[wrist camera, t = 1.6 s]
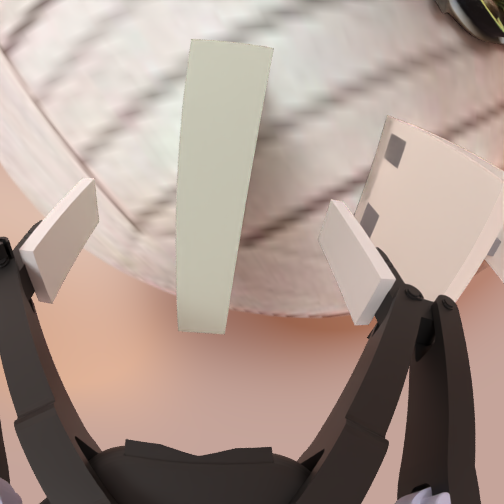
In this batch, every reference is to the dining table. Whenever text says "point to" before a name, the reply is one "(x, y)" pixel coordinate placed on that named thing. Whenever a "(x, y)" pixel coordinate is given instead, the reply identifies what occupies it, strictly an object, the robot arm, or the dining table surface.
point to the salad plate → (478, 17)
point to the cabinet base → (433, 210)
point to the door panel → (215, 174)
